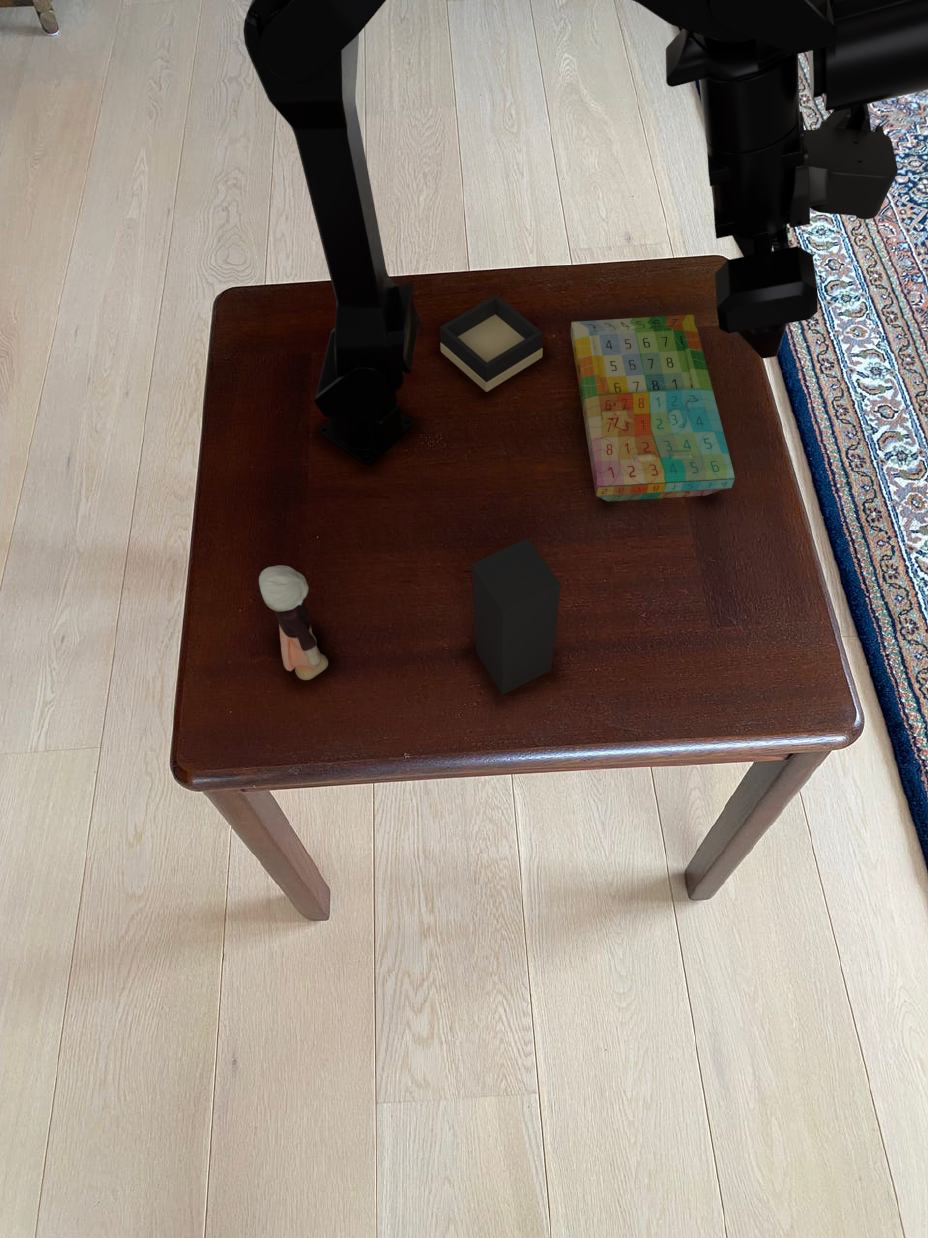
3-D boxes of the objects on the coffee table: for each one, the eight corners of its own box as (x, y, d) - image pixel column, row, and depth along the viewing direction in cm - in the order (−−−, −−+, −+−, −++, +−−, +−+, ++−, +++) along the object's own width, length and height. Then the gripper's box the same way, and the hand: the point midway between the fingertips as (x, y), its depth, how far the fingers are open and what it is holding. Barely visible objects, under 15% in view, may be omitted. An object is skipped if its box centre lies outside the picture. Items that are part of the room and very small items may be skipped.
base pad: (486, 392, 89) (486, 368, 86) (440, 351, 92) (438, 326, 89) (542, 357, 91) (543, 332, 88) (496, 318, 94) (496, 293, 91)
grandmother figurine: (263, 640, 76) (223, 555, 65) (302, 615, 77) (270, 527, 66) (313, 707, 73) (280, 629, 62) (353, 680, 74) (328, 599, 63)
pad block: (475, 651, 75) (471, 563, 64) (523, 628, 76) (528, 537, 65) (502, 695, 73) (503, 612, 62) (551, 670, 74) (561, 584, 63)
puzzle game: (598, 480, 77) (572, 314, 87) (593, 513, 82) (568, 351, 92) (737, 471, 77) (695, 306, 87) (725, 505, 81) (686, 344, 92)
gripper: (913, 187, 51) (896, 385, 64) (871, 7, 60) (864, 211, 73) (706, 231, 55) (729, 410, 67) (697, 54, 64) (718, 241, 76)
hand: (765, 312), depth 71 cm, fingers open, 9 cm apart
